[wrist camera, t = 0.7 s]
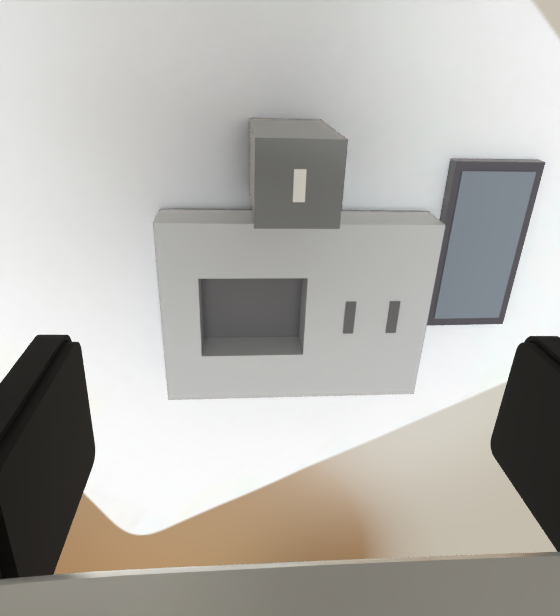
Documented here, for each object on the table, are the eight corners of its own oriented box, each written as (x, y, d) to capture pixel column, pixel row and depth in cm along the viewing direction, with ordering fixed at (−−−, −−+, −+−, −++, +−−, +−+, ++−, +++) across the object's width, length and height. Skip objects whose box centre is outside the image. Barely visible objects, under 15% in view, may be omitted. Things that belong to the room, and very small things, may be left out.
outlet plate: (159, 209, 32) (152, 223, 30) (428, 211, 34) (446, 225, 31) (172, 375, 38) (168, 400, 35) (401, 370, 40) (414, 394, 37)
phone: (448, 157, 33) (456, 161, 32) (535, 158, 33) (546, 162, 32) (420, 317, 38) (426, 325, 37) (495, 316, 39) (503, 324, 38)
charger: (249, 117, 30) (254, 137, 23) (321, 119, 31) (348, 139, 23) (249, 190, 32) (253, 229, 25) (316, 191, 33) (340, 229, 25)
